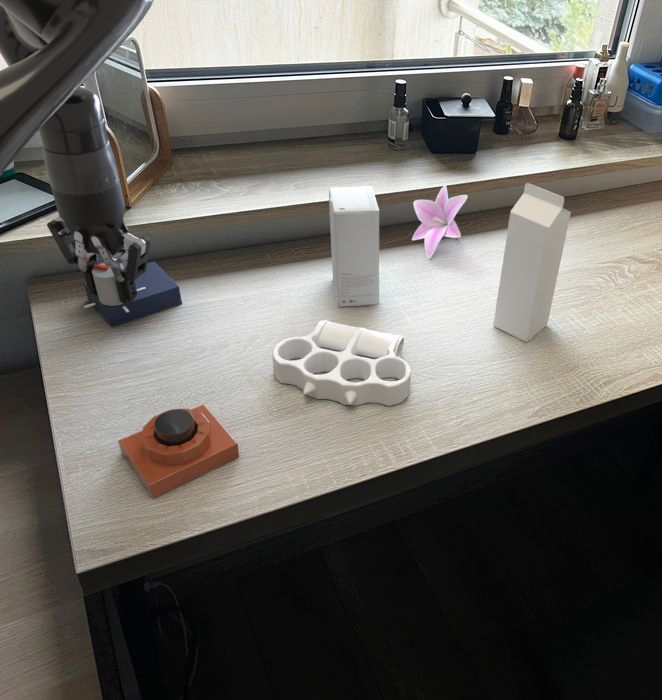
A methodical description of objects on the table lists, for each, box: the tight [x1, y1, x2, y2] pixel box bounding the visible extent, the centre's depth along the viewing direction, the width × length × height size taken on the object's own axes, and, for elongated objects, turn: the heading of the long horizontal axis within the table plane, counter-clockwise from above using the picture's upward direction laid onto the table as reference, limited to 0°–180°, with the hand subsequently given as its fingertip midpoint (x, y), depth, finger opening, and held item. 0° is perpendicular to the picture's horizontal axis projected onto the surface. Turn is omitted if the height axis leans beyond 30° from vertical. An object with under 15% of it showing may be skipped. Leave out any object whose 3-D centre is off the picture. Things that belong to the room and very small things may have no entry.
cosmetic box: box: [328, 185, 380, 308], centre depth 105 cm, size 8×7×16 cm
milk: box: [492, 182, 572, 343], centre depth 100 cm, size 6×6×22 cm
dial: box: [92, 262, 124, 306], centre depth 96 cm, size 4×4×5 cm
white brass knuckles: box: [272, 319, 412, 407], centre depth 94 cm, size 3×18×15 cm
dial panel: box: [83, 261, 183, 328], centre depth 100 cm, size 12×10×3 cm
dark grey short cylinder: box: [154, 408, 196, 446], centre depth 78 cm, size 4×4×2 cm
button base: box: [117, 404, 240, 499], centre depth 80 cm, size 10×8×4 cm
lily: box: [411, 183, 469, 260], centre depth 122 cm, size 12×12×10 cm
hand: (113, 295), depth 97 cm, fingers closed on dial, 4 cm apart
